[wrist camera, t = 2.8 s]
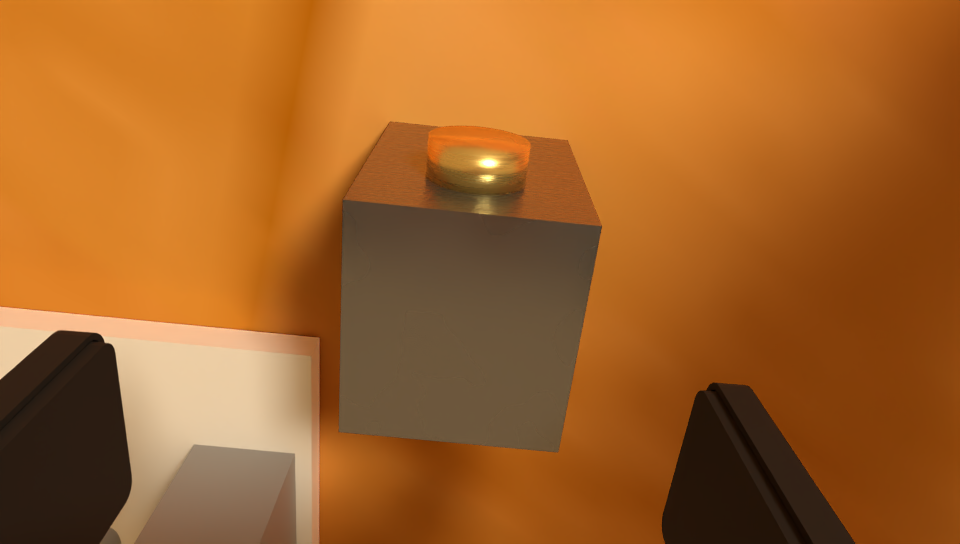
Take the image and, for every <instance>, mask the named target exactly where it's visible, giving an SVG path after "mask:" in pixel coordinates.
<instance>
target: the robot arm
mask: <svg viewBox="0 0 960 544" xmlns="http://www.w3.org/2000/svg"><path fill="white" fill-rule="evenodd" d="M131 487H132V473H131V465H130V458H129V451H128V443H127V436H126V428H125V421H124V413H123V406H122V398H121V391H120V383H119V376H118V368H117V361H116V353H115V349H114V347H113V345H112V344H110V343H105V342H104V339H103V337H102V336H101V335H100V334H98V333H92V332H79V331H67V330H58V331H56V332H54V333H53V334H52V335H51V336H49V337H48V338H47V339H46V340H45V341H44V342H43V343H41V344H40V345H39V346H38V347H37V348H36V349H34V350H33V351H32V352H31V353H30V354H29V355H28V356H26V357H25V358H24V359H23V360H22V361H21V362H20V363H18V364H17V365H16V366H15V367H14V368H13V369H12V370H10V371H9V372H8V373H7V374H6V375H5V376H4V377H2V378H1V379H0V544H100V542H101V541H102V539H103V538H104V536H105V535H106V533H107V532H108V530H109V528H110V527H111V525H112V524H113V522H114V521H115V519H116V518H117V516H118V514H119V513H120V511H121V510H122V508H123V507H124V505H125V504H126V502H127V500H128V498H129V495H130V491H131ZM662 532H663V538H664V541H665V544H855V542H854V541H853V539H852V538H851V536H850V535H849V533H848V532H847V530H846V529H845V527H844V526H843V524H842V523H841V521H840V520H839V518H838V517H837V515H836V514H835V512H834V511H833V509H832V508H831V506H830V505H829V503H828V502H827V500H826V499H825V497H824V496H823V494H822V493H821V492H820V490H819V489H818V487H817V486H816V484H815V483H814V481H813V480H812V478H811V477H810V475H809V474H808V472H807V471H806V469H805V468H804V466H803V465H802V463H801V462H800V460H799V459H798V457H797V456H796V454H795V453H794V451H793V450H792V448H791V447H790V445H789V444H788V442H787V441H786V439H785V438H784V436H783V435H782V434H781V432H780V431H779V429H778V428H777V426H776V425H775V423H774V422H773V420H772V419H771V417H770V416H769V414H768V413H767V411H766V410H765V408H764V407H763V405H762V404H761V402H760V401H759V399H758V398H757V396H756V395H755V393H754V392H753V390H752V389H751V388H750V387H749V386H746V385H737V384H724V383H712V384H710V385H709V387H708V388H707V390H706V391H702V390H701V391H699V392H698V393H697V395H696V397H695V400H694V404H693V407H692V411H691V415H690V418H689V422H688V426H687V429H686V433H685V436H684V440H683V444H682V447H681V451H680V454H679V458H678V462H677V465H676V469H675V473H674V476H673V480H672V483H671V487H670V491H669V494H668V498H667V501H666V505H665V509H664V512H663V517H662Z"/></svg>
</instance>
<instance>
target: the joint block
mask: <svg viewBox="0 0 960 544" xmlns="http://www.w3.org/2000/svg"><path fill="white" fill-rule="evenodd" d="M601 228H602V225H601V223H600V220H599V218H598V215H597V213H596V210H595V208H594V205H593V203H592V200H591V198H590V195H589V193H588V190H587V188H586V185H585V183H584V180H583V178H582V175H581V173H580V170H579V168H578V165H577V163H576V160H575V158H574V155H573V153H572V150H571V148H570V145H569V143H568V140H559V139H550V138H540V137H531V136H521V135H516V134H514V133H510V132H507V131H503V130H498V129H492V128H486V127H476V126H446V127H437V126H427V125H418V124H408V123H399V122H390V123H389V124H388V126H387V128H386V129H385V131H384V133H383V134H382V136H381V138H380V139H379V141H378V143H377V144H376V146H375V148H374V149H373V151H372V152H371V154H370V156H369V157H368V159H367V161H366V162H365V164H364V166H363V167H362V169H361V171H360V172H359V174H358V176H357V177H356V179H355V180H354V182H353V184H352V185H351V187H350V189H349V190H348V192H347V194H346V195H345V197H344V199H343V221H342V278H341V335H340V393H339V432H344V433H355V434H366V435H376V436H387V437H398V438H409V439H419V440H430V441H441V442H452V443H462V444H473V445H484V446H494V447H505V448H516V449H527V450H537V451H548V452H558V451H559V446H560V441H561V436H562V431H563V425H564V420H565V415H566V410H567V405H568V399H569V394H570V389H571V384H572V379H573V373H574V368H575V363H576V358H577V353H578V348H579V342H580V337H581V332H582V327H583V322H584V316H585V311H586V306H587V301H588V296H589V290H590V285H591V280H592V275H593V270H594V265H595V259H596V254H597V249H598V244H599V239H600V233H601Z"/></svg>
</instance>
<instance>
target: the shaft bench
mask: <svg viewBox="0 0 960 544" xmlns="http://www.w3.org/2000/svg"><path fill="white" fill-rule="evenodd" d="M58 330H67V331H79V332H92V333H98V334H100V335H101V336H102V337H103V339H104V342H105V343H110V344H112V345H113V347H114V349H115V353H116V361H117V368H118V376H119V383H120V391H121V398H122V406H123V413H124V421H125V428H126V436H127V443H128V451H129V458H130V465H131V473H132V487H131V491H130V495H129V498H128V500H127V502H126V504H125V505H124V507H123V508H122V510H121V511H120V513H119V514H118V516H117V518H116V519H115V521H114V522H113V524H112V525H111V527H110V528H109V530H108V532H107V533H106V535H105V536H104V538H103V539H102V541H101V542H100V544H319V413H320V338H318V337H308V336H297V335H287V334H277V333H266V332H256V331H245V330H235V329H225V328H214V327H204V326H194V325H183V324H173V323H163V322H152V321H142V320H132V319H121V318H111V317H101V316H90V315H80V314H70V313H59V312H49V311H39V310H28V309H18V308H7V307H0V379H1V378H2V377H4V376H5V375H6V374H7V373H8V372H9V371H10V370H12V369H13V368H14V367H15V366H16V365H17V364H18V363H20V362H21V361H22V360H23V359H24V358H25V357H26V356H28V355H29V354H30V353H31V352H32V351H33V350H34V349H36V348H37V347H38V346H39V345H40V344H41V343H43V342H44V341H45V340H46V339H47V338H48V337H49V336H51V335H52V334H53V333H54V332H56V331H58Z"/></svg>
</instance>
